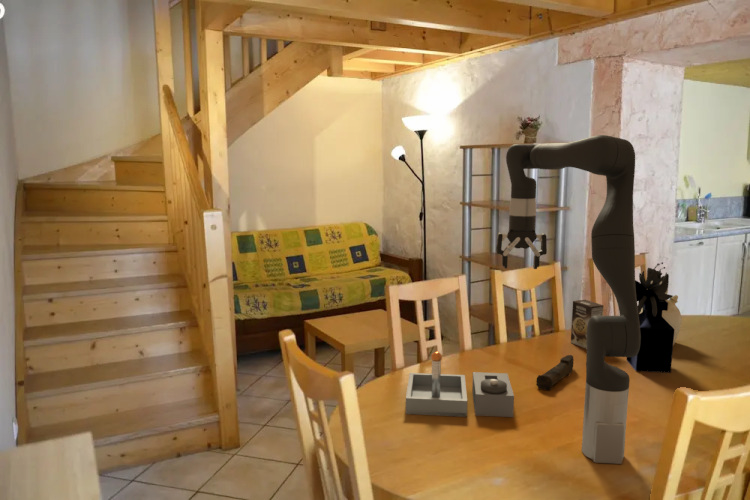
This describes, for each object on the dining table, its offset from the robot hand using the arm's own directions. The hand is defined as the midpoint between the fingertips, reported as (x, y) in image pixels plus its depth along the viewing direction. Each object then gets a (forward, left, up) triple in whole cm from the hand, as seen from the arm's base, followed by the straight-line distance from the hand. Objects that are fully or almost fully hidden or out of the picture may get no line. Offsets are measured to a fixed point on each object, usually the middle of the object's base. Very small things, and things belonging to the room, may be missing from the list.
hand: (520, 268), depth 169 cm
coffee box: (+40, -30, -36) cm, 62 cm away
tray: (-15, +24, -36) cm, 46 cm away
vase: (+20, -45, -36) cm, 61 cm away
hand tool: (+6, -13, -37) cm, 39 cm away
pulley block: (-15, +9, -36) cm, 40 cm away
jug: (+46, -57, -36) cm, 82 cm away
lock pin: (-15, +24, -35) cm, 45 cm away
